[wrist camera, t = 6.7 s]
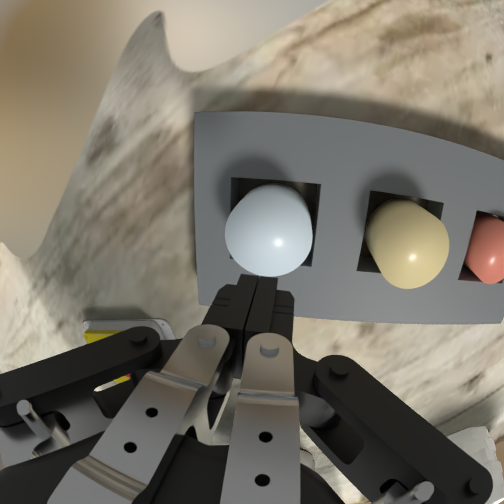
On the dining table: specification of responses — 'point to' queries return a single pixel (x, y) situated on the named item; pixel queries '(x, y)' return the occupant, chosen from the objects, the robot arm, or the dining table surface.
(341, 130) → the control panel
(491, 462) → the basket
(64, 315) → the dining table surface
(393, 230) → the ochre button
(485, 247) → the red button
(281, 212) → the blue button
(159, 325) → the emergency button
